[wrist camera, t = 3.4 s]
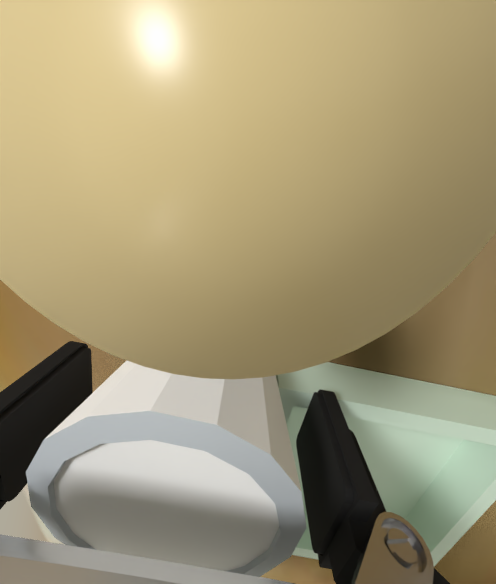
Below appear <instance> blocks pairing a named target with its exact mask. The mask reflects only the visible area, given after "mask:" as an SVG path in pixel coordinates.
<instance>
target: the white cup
mask: <svg viewBox="0 0 496 584" xmlns="http://www.w3.org/2000/svg"><path fill="white" fill-rule="evenodd" d="M26 477H27V483H28V489H29V496H30V502H31V507H32V508H33V509H34V511H35V512H36V513H37V515H38V516H39V517H40V519H41V520H42V521H43V523H44V524H45V525H46V527H47V528H48V529H49V530H50V532H51V533H52V534H53V536H54V537H55V538H56V539H58V540H59V541H61V542H62V543H64V544H65V545H70V546H76V547H82V548H89V549H95V550H101V551H107V552H113V553H119V554H125V555H131V556H137V557H144V558H150V559H156V560H162V561H168V562H174V563H180V564H186V565H192V566H198V567H204V568H209V569H215V570H221V571H227V572H233V573H239V574H245V575H250V576H256V577H260V576H262V575H263V574H265V573H266V572H268V571H269V570H271V569H272V568H274V567H276V566H277V565H279V564H280V563H282V562H283V561H285V560H286V559H288V558H289V557H291V555H292V553H293V552H294V550H295V548H296V546H297V544H298V543H299V541H300V539H301V537H302V535H303V533H304V532H305V530H306V528H307V527H306V520H305V513H304V506H303V499H302V492H301V487H300V483H299V478H298V474H297V469H296V465H295V460H294V456H293V451H292V447H291V442H290V438H289V433H288V429H287V424H286V420H285V415H284V410H283V406H282V401H281V397H280V392H279V388H278V383H277V379H276V375H274V376H268V377H261V378H247V379H209V378H198V377H191V376H184V375H177V374H171V373H168V372H164V371H160V370H156V369H152V368H148V367H144V366H141V365H138V364H135V363H133V362H130V361H126V362H125V363H124V364H123V365H121V366H120V367H119V368H118V369H117V370H116V371H115V372H114V373H113V374H112V375H111V376H110V377H109V378H108V379H107V380H106V381H105V382H104V383H103V384H102V385H101V386H99V387H98V388H97V389H96V390H95V391H94V392H93V393H92V394H91V395H90V396H89V397H88V398H87V399H86V400H85V401H84V402H83V403H82V404H81V405H80V406H79V407H77V408H76V409H75V410H74V411H73V412H72V413H71V414H70V415H69V416H68V417H67V418H66V419H65V420H64V421H63V422H62V423H61V424H60V425H59V426H58V427H57V428H55V429H54V430H53V431H52V432H51V433H50V434H49V435H48V436H47V437H46V438H45V439H44V440H43V442H42V444H41V446H40V447H39V449H38V451H37V453H36V455H35V456H34V458H33V460H32V462H31V464H30V465H29V467H28V469H27V471H26Z"/></svg>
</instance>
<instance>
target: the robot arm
mask: <svg viewBox="0 0 496 584" xmlns="http://www.w3.org/2000/svg"><path fill="white" fill-rule="evenodd" d="M91 394H92V364H91V349H89V348H88V346H87V344H84V343H79V342H73V341H70V342H68V343H66V344H65V345H64V346H62V347H61V348H60V349H58V350H57V351H56V352H54V353H53V354H51V355H50V356H49V357H47V358H46V359H45V360H43V361H42V362H41V363H39V364H38V365H37V366H35V367H34V368H33V369H31V370H30V371H29V372H27V373H26V374H25V375H23V376H22V377H20V378H19V379H18V380H16V381H15V382H14V383H12V384H11V385H10V386H8V387H7V388H6V389H4V390H3V391H2V392H0V509H1V508H2V507H3V505H4V504H5V503H6V502H7V501H11V500H12V499H14V498H15V497H16V496H17V495H18V494H19V492H20V491H21V490H22V489H23V488H24V486H25V485H26V484H27V477H26V471H27V469H28V467H29V465H30V464H31V462H32V460H33V458H34V456H35V455H36V453H37V451H38V449H39V447H40V446H41V444H42V442H43V440H44V439H45V438H46V437H47V436H48V435H49V434H50V433H51V432H52V431H53V430H54V429H55V428H57V427H58V426H59V425H60V424H61V423H62V422H63V421H64V420H65V419H66V418H67V417H68V416H69V415H70V414H71V413H72V412H73V411H74V410H75V409H76V408H77V407H79V406H80V405H81V404H82V403H83V402H84V401H85V400H86V399H87V398H88V397H89V396H90V395H91ZM296 447H297V454H298V460H299V467H300V473H301V480H302V486H303V493H304V499H305V506H306V512H307V518H308V525H309V531H310V538H311V544H312V549H313V551H314V553H317V554H318V559H319V565H320V567H323V568H328V569H332V572H333V577H334V581H335V582H336V584H450V583H449V582H448V581H447V580H446V579H445V578H444V577H443V576H442V575H441V574H440V573H439V572H437V571H436V570H435V569H434V566H433V559H432V556H431V553H430V550H429V548H428V547H427V545H426V543H425V541H424V539H423V538H422V537H421V535H420V534H419V533H418V531H417V530H416V529H415V528H414V527H413V526H412V525H411V524H410V523H409V522H408V521H407V520H405V519H404V518H402V517H401V516H399V515H397V514H395V513H392V512H386V509H385V507H384V504H383V502H382V499H381V497H380V495H379V492H378V490H377V487H376V485H375V483H374V480H373V478H372V475H371V473H370V470H369V468H368V466H367V463H366V461H365V458H364V456H363V454H362V451H361V449H360V446H359V444H358V441H357V439H356V437H355V435H354V433H353V432H352V431H351V430H350V429H349V427H348V425H347V422H346V420H345V417H344V415H343V412H342V410H341V407H340V405H339V402H338V400H337V397H336V395H335V393H334V392H332V391H326V390H321V389H320V390H319V391H318V392H314V394H313V396H312V399H311V401H310V404H309V407H308V409H307V412H306V414H305V417H304V420H303V422H302V425H301V428H300V430H299V433H298V435H297V439H296ZM0 584H294V583H289V582H284V581H278V580H273V579H268V578H262V577H256V576H250V575H245V574H239V573H233V572H227V571H221V570H215V569H209V568H204V567H198V566H192V565H186V564H180V563H174V562H168V561H162V560H156V559H150V558H144V557H137V556H131V555H125V554H119V553H113V552H107V551H101V550H95V549H89V548H82V547H76V546H70V545H63V544H57V543H51V542H44V541H38V540H32V539H25V538H19V537H13V536H6V535H0Z"/></svg>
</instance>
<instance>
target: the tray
mask: <svg viewBox="0 0 496 584" xmlns="http://www.w3.org/2000/svg"><path fill="white" fill-rule="evenodd" d="M276 379H277V383H278V388H279V392H280V397H281V401H282V406H283V410H284V415H285V420H286V424H287V429H288V433H289V438H290V442H291V447H292V451H293V456H294V460H295V465H296V469H297V474H298V478H299V483H300V487H301V492H302V499H303V506H304V513H305V520H306V527H307V528H306V530H305V532H304V533H303V535H302V537H301V539H300V541H299V543H298V544H297V546H296V548H295V550H294V552H293V553H292V555H296V556H301V557H307V558H313V559H318V554H317V553H314V551H313V549H312V544H311V538H310V531H309V525H308V518H307V512H306V506H305V499H304V493H303V486H302V480H301V473H300V467H299V460H298V454H297V447H296V439H297V435H298V433H299V430H300V428H301V425H302V422H303V420H304V417H305V414H306V412H307V409H308V407H309V404H310V401H311V399H312V396H313V394H314V392H318V391H319V390H320V389H321V390H326V391H332V392H334V393H335V395H336V397H337V400H338V402H339V405H340V407H341V410H342V412H343V415H344V417H345V420H346V422H347V425H348V427H349V429H350V430H351V431H352V432H353V433H354V435H355V437H356V439H357V441H358V444H359V446H360V449H361V451H362V454H363V456H364V458H365V461H366V463H367V466H368V468H369V470H370V473H371V475H372V478H373V480H374V483H375V485H376V487H377V490H378V492H379V495H380V497H381V499H382V502H383V504H384V507H385V509H386V512H392V513H395V514H397V515H399V516H401V517H402V518H404V519H405V520H407V521H408V522H409V523H410V524H411V525H412V526H413V527H414V528H415V529H416V530H417V531H418V533H419V534H420V535H421V537H422V538H423V539H424V541H425V543H426V545H427V547H428V548H429V550H430V553H431V556H432V559H433V566H435V565H436V564H437V563H438V562H439V561H440V560H441V559H442V558H443V556H444V555H445V554H446V553H447V552H448V551H449V550H450V549H451V548H452V547H453V546H454V545H455V544H456V542H457V541H458V540H459V539H460V538H461V537H462V536H463V535H464V534H465V533H466V532H467V531H468V530H469V528H470V527H471V526H472V525H473V524H474V523H475V522H476V521H477V520H478V519H479V518H480V517H481V516H482V514H483V513H484V512H485V511H486V510H487V509H488V508H489V507H490V506H491V505H492V504H493V503H494V502H495V500H496V396H493V395H488V394H483V393H478V392H473V391H468V390H463V389H459V388H454V387H449V386H444V385H439V384H434V383H429V382H424V381H419V380H414V379H409V378H404V377H399V376H394V375H389V374H384V373H379V372H374V371H370V370H365V369H360V368H355V367H350V366H345V365H340V364H335V363H330V362H326V363H323V364H319V365H316V366H312V367H309V368H306V369H302V370H299V371H295V372H291V373H285V374H279V375H276ZM318 560H319V559H318Z"/></svg>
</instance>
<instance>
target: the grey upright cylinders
mask: <svg viewBox="0 0 496 584" xmlns="http://www.w3.org/2000/svg"><path fill="white" fill-rule="evenodd" d="M495 232H496V0H0V280H1V281H3V282H4V283H5V284H6V285H7V286H8V287H9V288H10V289H12V290H13V291H14V292H15V293H16V294H17V295H18V296H19V297H21V298H22V299H23V300H24V301H25V302H26V303H28V304H29V305H30V306H32V307H33V308H34V309H36V310H37V311H38V312H40V313H41V314H42V315H44V316H45V317H46V318H48V319H49V320H51V321H52V322H53V323H55V324H56V325H58V326H59V327H61V328H63V329H64V330H66V331H68V332H69V333H71V334H73V335H74V336H76V337H78V338H79V339H81V340H83V341H84V342H86V343H88V344H90V345H93V346H95V347H97V348H99V349H101V350H103V351H105V352H107V353H109V354H111V355H113V356H116V357H119V358H122V359H124V360H127V361H130V362H133V363H135V364H138V365H141V366H144V367H148V368H152V369H156V370H160V371H164V372H168V373H171V374H177V375H184V376H191V377H198V378H209V379H247V378H261V377H268V376H274V375H279V374H285V373H291V372H295V371H299V370H302V369H306V368H309V367H312V366H316V365H319V364H323V363H326V362H328V361H331V360H333V359H335V358H338V357H340V356H343V355H345V354H348V353H350V352H352V351H355V350H357V349H359V348H360V347H362V346H364V345H366V344H368V343H370V342H372V341H373V340H375V339H377V338H379V337H381V336H383V335H384V334H386V333H388V332H389V331H391V330H392V329H394V328H395V327H396V326H398V325H399V324H401V323H402V322H404V321H405V320H407V319H408V318H410V317H411V316H412V315H414V314H415V313H417V312H418V311H419V310H420V309H422V308H423V307H424V306H425V305H426V304H427V303H429V302H430V301H431V300H432V299H433V298H434V297H436V296H437V295H438V294H439V293H440V292H442V291H443V290H444V289H445V288H446V287H447V286H448V285H449V284H450V283H451V282H452V281H453V280H454V279H455V278H456V277H457V276H458V275H459V274H460V273H461V272H462V271H463V270H464V269H465V268H466V267H467V266H468V265H469V264H470V262H471V261H472V260H473V259H474V258H475V257H476V256H477V255H478V254H479V253H480V251H481V250H482V249H483V248H484V246H485V245H486V244H487V243H488V241H489V240H490V239H491V237H492V236H493V235H494V234H495Z"/></svg>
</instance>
